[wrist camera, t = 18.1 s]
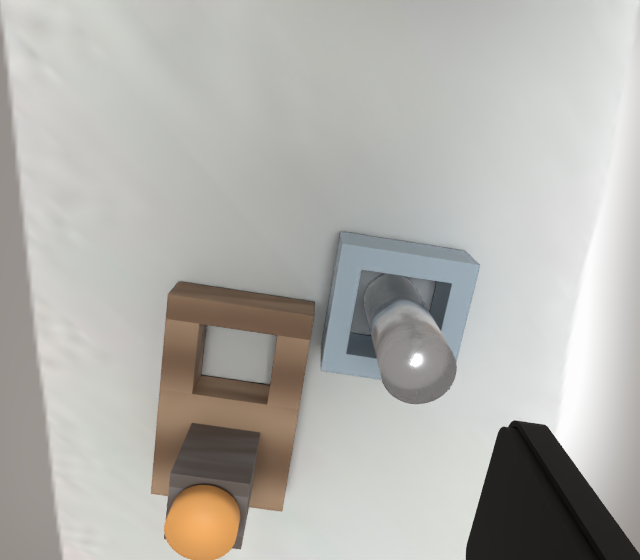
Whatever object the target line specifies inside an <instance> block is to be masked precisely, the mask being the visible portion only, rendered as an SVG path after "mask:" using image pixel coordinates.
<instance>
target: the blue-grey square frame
mask: <svg viewBox="0 0 640 560" xmlns="http://www.w3.org/2000/svg"><path fill="white" fill-rule="evenodd" d="M479 267H480V264H478V263H477V262H476V261H475V260H474V259H473V258H472V257H471V256H470V255H469V254H468V253H467V252H466V251H463V250H457V249H451V248H444V247H438V246H431V245H425V244H419V243H412V242H406V241H399V240H393V239H386V238H380V237H374V236H367V235H361V234H354V233H348V232H342V231H341V233H340V238H339V244H338V250H337V256H336V262H335V268H334V274H333V279H332V285H331V291H330V297H329V303H328V309H327V315H326V321H325V326H324V332H323V338H322V344H321V371H325V372H332V373H339V374H346V375H352V376H359V377H366V378H373V379H380V380H382V378H381V374H380V370H379V366H378V362H377V357H376V353H375V349H374V345H373V341H372V337H371V336H366V335H359V334H352V333H350V330H351V324H352V319H353V313H354V308H355V302H356V297H357V292H358V286H359V281H360V275H361V270H368V271H374V272H381V273H387V274H394V275H400V276H407V277H413V278H420V279H426V280H433V281H437V283H436V288H435V292H434V297H433V301H432V305H431V310H430V314H431V316H432V317H433V319H434V321H435V323H436V324H437V326H438V328H439V330H440V331H441V333H442V335H443V337H444V338H445V340H446V342H447V344H448V345H449V347H450V349H451V350H452V352H453V354H454V357H455V360H456V361H457V357H458V353H459V349H460V345H461V341H462V337H463V333H464V329H465V325H466V320H467V316H468V312H469V308H470V304H471V300H472V296H473V292H474V288H475V284H476V280H477V276H478V271H479ZM448 390H450V388H449V389H448Z"/></svg>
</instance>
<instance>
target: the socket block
mask: <svg viewBox="0 0 640 560" xmlns="http://www.w3.org/2000/svg"><path fill="white" fill-rule="evenodd" d="M314 310H315V302H311V301H304V300H298V299H291V298H284V297H278V296H271V295H265V294H258V293H251V292H245V291H238V290H231V289H225V288H218V287H212V286H205V285H198V284H192V283H185V282H178V283H177V284H176V286H175V287H174V288H173V289H172V290H171V291H170V292H169V294H168V300H167V312H166V324H165V335H164V347H163V359H162V370H161V382H160V394H159V405H158V417H157V429H156V440H155V452H154V464H153V475H152V487H151V494H157V495H164V496H168V503H167V513H166V519H167V516H168V514H169V511H170V508H171V506H172V503H173V501H174V499H175V498H176V497H177V495H178V494H179V493H181V492H182V491H183V490H185V489H187V488H189V487H192V486H196V485H211V486H215V487H218V488H220V489H223V490H224V491H226V492H227V493H229V494H230V495H231V496H232V497H233V498H234V499H235V501H236V502H237V504H238V507H239V510H240V523H239V527H238V532H237V537H236V541H235V544H234V545H233V547H232V548H235V549H241V546H242V540H243V535H244V530H245V525H246V519H247V514H248V509H249V507H252V508H260V509H267V510H275V511H282V510H283V503H284V497H285V491H286V485H287V479H288V473H289V467H290V461H291V455H292V449H293V442H294V436H295V430H296V424H297V418H298V412H299V406H300V400H301V394H302V388H303V381H304V375H305V369H306V363H307V357H308V351H309V345H310V339H311V333H312V327H313V321H314ZM206 325H211V326H217V327H224V328H231V329H238V330H244V331H251V332H258V333H265V334H271V335H277V341H276V348H275V355H274V361H273V368H272V375H271V382H270V385H264V384H257V383H250V382H243V381H236V380H229V379H222V378H215V377H209V376H202V375H201V369H202V360H203V351H204V341H205V332H206ZM164 539H166V537H165V534H164Z"/></svg>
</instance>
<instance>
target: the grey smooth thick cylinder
mask: <svg viewBox="0 0 640 560" xmlns="http://www.w3.org/2000/svg"><path fill="white" fill-rule="evenodd" d="M364 307H365V311H366V316H367V320H368V324H369V328H370V332H371V337H372V341H373V345H374V349H375V353H376V357H377V362H378V366H379V370H380V374H381V378H382V382H383V384H384V386H385V388H386V389H387V391H388V392H389V393H390V394H391V395H392V396H394V397H395V398H397V399H398V400H400V401H403V402H406V403H410V404H423V403H428V402H431V401H433V400H436V399H437V398H439V397H441V396H442V395H443V394H444V393H445V392H447V390H448V389H449V388H450V386H451V385H452V383H453V381H454V379H455V375H456V360H455V357H454V354H453V352H452V350H451V349H450V347H449V345H448V344H447V342H446V340H445V338H444V337H443V335H442V333H441V331H440V330H439V328H438V326H437V324H436V323H435V321H434V319H433V317H432V316H431V314H430V312H429V310H428V309H427V307H426V305H425V303H424V302H423V300H422V298H421V296H420V295H419V293H418V291H417V289H416V288H415V286H414V284H413V283H412V282H411V281H410V280H409V279H407V278H406V277H404V276H400V275H394V274H385V275H382V276H380V277H378V278H376V279H375V280H373V281H372V282H371V283H370V284H369V286H368V287H367V289H366V291H365V294H364Z"/></svg>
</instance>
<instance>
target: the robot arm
mask: <svg viewBox="0 0 640 560" xmlns="http://www.w3.org/2000/svg"><path fill="white" fill-rule="evenodd" d="M466 560H640V554H639V553H638V552H637V550H636V549H635V547H633V545H632V543H631V542H630V541H629V539H628V538H627V536H626V535H625V534H624V532H623V531H622V529H621V528H620V527H619V525H618V524H617V522H616V521H615V520H614V518H613V517H612V516H611V514H610V513H609V511H608V510H607V509H606V507H605V506H604V504H603V503H602V502H601V500H600V499H599V497H598V496H597V495H596V493H595V492H594V491H593V489H592V488H591V487H590V485H589V484H588V482H587V481H586V479H585V478H584V477H583V475H582V474H581V473H580V471H579V470H578V468H577V467H576V466H575V464H574V463H573V461H572V460H571V459H570V457H569V456H568V454H567V453H566V452H565V450H564V449H563V448H562V446H561V445H560V443H559V442H558V441H557V439H556V438H555V436H554V435H553V434H552V432H551V431H550V430H549V428H548V427H547V426H546V425H542V424H535V423H528V422H521V421H512V422H511V423H510V425H509V427H502V428H501V429H500V430H499V432H498V435H497V439H496V442H495V446H494V449H493V453H492V457H491V460H490V464H489V467H488V471H487V474H486V478H485V482H484V485H483V489H482V492H481V496H480V500H479V503H478V507H477V510H476V514H475V518H474V521H473V525H472V528H471V532H470V536H469V539H468V543H467V547H466Z"/></svg>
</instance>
